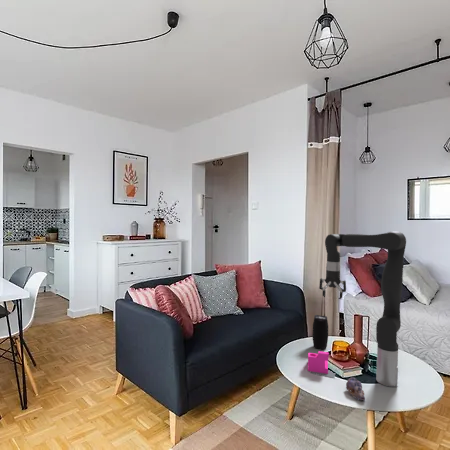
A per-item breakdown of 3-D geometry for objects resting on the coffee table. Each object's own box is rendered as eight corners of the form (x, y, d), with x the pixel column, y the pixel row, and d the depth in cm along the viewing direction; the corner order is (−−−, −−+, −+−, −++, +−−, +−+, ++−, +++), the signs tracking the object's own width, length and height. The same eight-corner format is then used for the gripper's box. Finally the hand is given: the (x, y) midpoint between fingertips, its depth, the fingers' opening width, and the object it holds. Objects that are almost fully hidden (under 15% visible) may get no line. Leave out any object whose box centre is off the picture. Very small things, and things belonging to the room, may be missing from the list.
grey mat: (336, 366, 175) (336, 366, 175) (334, 378, 162) (334, 377, 162) (314, 362, 179) (314, 361, 179) (310, 373, 167) (310, 372, 167)
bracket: (328, 373, 166) (328, 354, 166) (307, 370, 169) (308, 351, 168) (327, 363, 177) (327, 345, 177) (308, 360, 180) (308, 343, 180)
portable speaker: (310, 345, 203) (310, 314, 202) (323, 344, 204) (324, 314, 204) (316, 350, 194) (317, 319, 194) (330, 349, 196) (331, 318, 196)
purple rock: (369, 403, 141) (369, 390, 140) (351, 402, 141) (351, 388, 141) (360, 389, 153) (360, 376, 152) (343, 387, 153) (344, 375, 153)
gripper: (347, 269, 180) (346, 297, 181) (321, 267, 186) (320, 294, 187) (346, 271, 174) (345, 301, 174) (319, 269, 179) (318, 297, 180)
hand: (332, 297), depth 180 cm, fingers open, 8 cm apart
